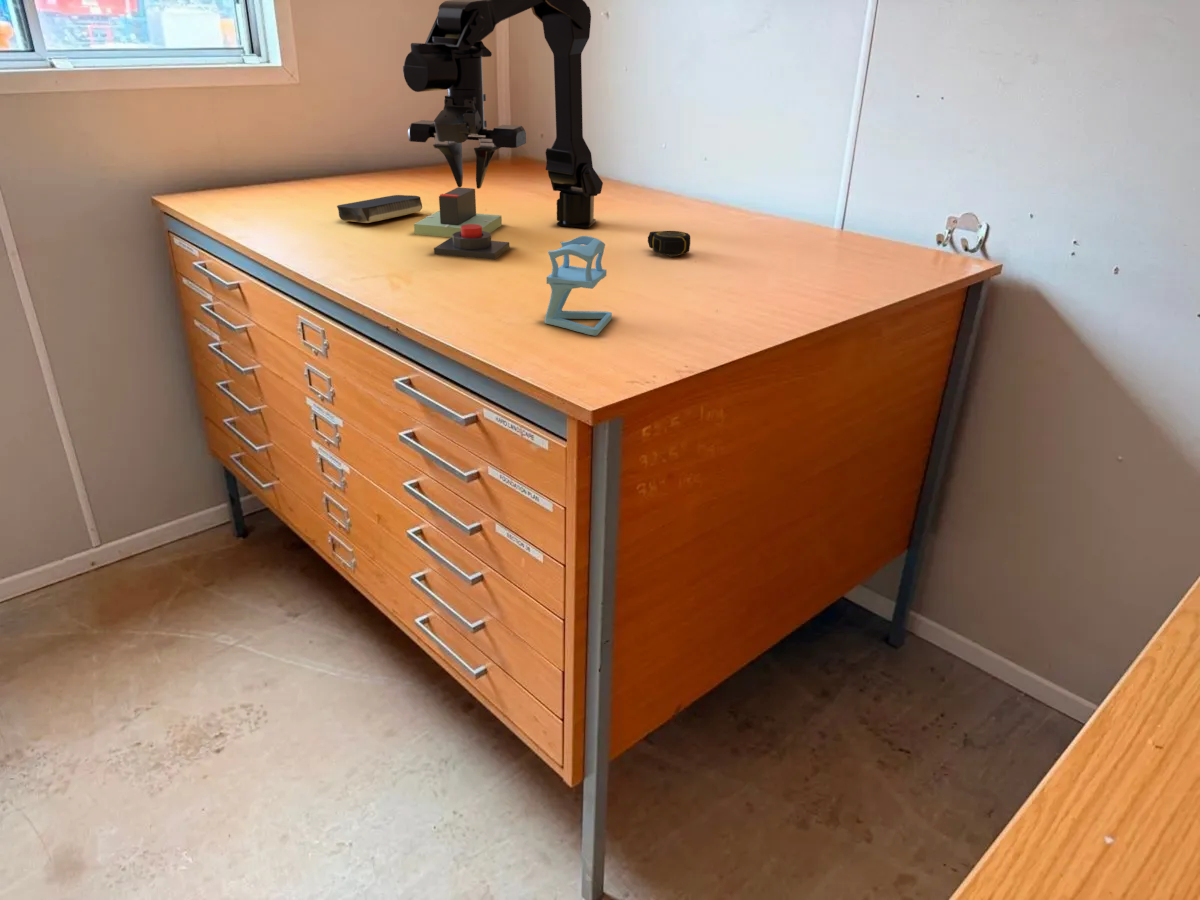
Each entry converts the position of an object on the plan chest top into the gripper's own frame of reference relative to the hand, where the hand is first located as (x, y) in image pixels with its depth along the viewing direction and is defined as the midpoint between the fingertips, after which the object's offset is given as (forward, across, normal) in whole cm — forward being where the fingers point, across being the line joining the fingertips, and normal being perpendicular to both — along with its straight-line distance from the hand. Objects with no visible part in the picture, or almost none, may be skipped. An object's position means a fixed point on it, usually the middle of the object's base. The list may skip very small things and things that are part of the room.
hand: (469, 187), depth 148 cm
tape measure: (+11, +33, +10) cm, 36 cm away
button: (+8, 0, 0) cm, 8 cm away
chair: (+11, +27, -31) cm, 43 cm away
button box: (+11, 0, 0) cm, 11 cm away
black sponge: (+11, -26, +18) cm, 34 cm away
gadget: (+9, -8, +14) cm, 18 cm away
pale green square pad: (+11, -8, +14) cm, 20 cm away
